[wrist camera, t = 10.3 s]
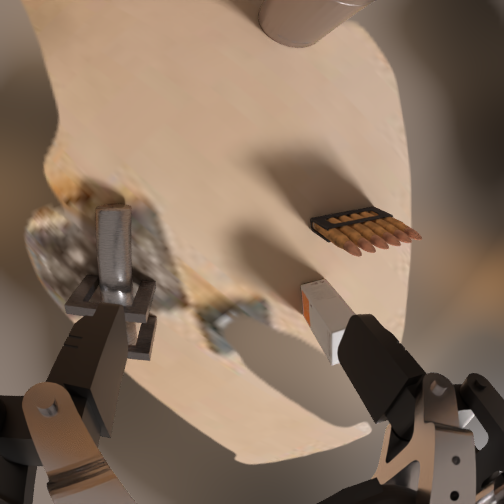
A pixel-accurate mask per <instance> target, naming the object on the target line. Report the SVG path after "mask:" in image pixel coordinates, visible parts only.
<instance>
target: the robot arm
mask: <svg viewBox="0 0 504 504" xmlns="http://www.w3.org/2000/svg"><path fill="white" fill-rule="evenodd" d="M374 1H376V0H264V2H263V4H262V6H261V8H260V10H259V15H258V16H259V22H260V25H261V27H262V29H263V30H264V32H265V33H266V34H267V35H268V36H269V37H271V38H272V39H273V40H275V41H277V42H279V43H280V44H283V45H286V46H289V47H295V48H303V47H308V46H311V45H313V44H315V43H316V42H318V41H319V40H320V39H322V38H323V37H324V36H326V35H327V34H328V33H330V32H331V31H332V30H334V29H335V28H336V27H338V26H339V25H340V24H342V23H343V22H345V21H346V20H347V19H349V18H350V17H352V16H353V15H355V14H356V13H358V12H359V11H360V10H362V9H363V8H365V7H367V6H368V5H370V4H371V3H372V2H374ZM127 355H128V340H127V332H126V323H125V314H124V307H123V305H121V304H113V303H104V302H100V304H99V305H98V307H97V309H96V311H95V313H94V315H93V316H87V315H85V316H84V317H83V318H81V319H80V320H79V321H77V322H76V323H75V324H74V326H73V328H72V329H71V331H70V333H69V337H67V339H66V341H65V343H64V346H63V347H62V349H61V351H60V353H59V355H58V357H57V359H56V361H55V363H54V365H53V367H52V370H51V372H50V374H49V377H48V378H47V380H46V382H42V383H38V384H36V385H34V386H32V387H31V388H30V389H29V390H28V391H27V392H26V393H25V395H24V396H2V395H0V504H32V502H33V492H34V484H35V476H36V470H37V466H44V469H45V471H46V473H47V475H48V478H49V482H48V483H47V489H48V491H49V494H50V496H51V498H52V500H53V502H54V504H137V503H136V502H135V500H134V499H133V498H132V497H131V495H130V494H129V493H128V491H127V490H126V489H125V488H124V486H123V485H122V484H121V482H120V481H119V479H118V478H117V477H116V475H115V474H114V472H113V471H112V469H111V468H110V466H109V465H108V463H107V462H106V460H105V459H104V457H103V456H102V454H101V452H100V451H99V449H98V444H99V439H100V436H102V437H108V438H111V434H112V428H113V423H114V417H115V412H116V406H117V401H118V396H119V392H120V387H121V382H122V378H123V373H124V369H125V365H126V361H127ZM337 356H338V360H339V362H340V364H341V366H342V367H343V369H344V371H345V372H346V374H347V376H348V377H349V379H350V381H351V383H352V384H353V386H354V388H355V389H356V391H357V393H358V394H359V396H360V398H361V399H362V401H363V403H364V405H365V406H366V408H367V410H368V412H369V413H370V415H371V417H372V419H373V420H374V422H375V423H376V424H377V423H380V422H383V421H386V420H388V421H389V422H390V423H389V425H388V426H387V427H386V430H385V436H384V441H383V446H382V451H381V456H380V461H379V465H378V468H377V471H376V472H375V474H374V476H373V477H372V478H371V479H370V480H368V481H365V482H362V483H360V484H357V485H354V486H351V487H348V488H345V489H342V490H341V491H339V492H338V493H336V494H334V495H332V496H330V497H329V498H327V499H325V500H323V501H321V502H319V503H317V504H504V399H503V398H502V397H501V396H500V394H499V393H498V392H497V391H496V390H495V388H494V387H493V386H492V385H491V384H490V382H489V381H488V380H487V379H486V378H485V377H483V376H482V375H479V374H477V373H471V374H469V375H468V377H467V378H466V379H465V381H464V382H463V384H455V385H454V384H452V382H451V381H450V380H449V379H448V378H446V377H445V376H443V375H441V374H439V373H434V372H433V373H432V372H431V373H427V374H426V372H425V371H424V370H423V369H422V368H421V367H420V365H419V364H418V363H417V362H416V361H415V359H414V358H413V357H412V356H411V355H410V353H409V352H408V351H407V350H405V348H404V347H403V345H402V344H401V343H399V341H398V340H397V338H396V337H395V336H394V335H393V334H392V333H391V332H389V331H388V330H387V329H385V328H384V327H383V326H382V325H381V324H380V323H379V321H378V320H377V319H376V318H375V317H374V316H373V315H371V314H359V315H352V316H351V317H350V319H349V321H348V324H347V326H346V329H345V331H344V334H343V336H342V338H341V341H340V343H339V346H338V350H337ZM474 416H476V417H477V419H478V420H479V422H480V423H481V424H482V426H483V427H484V429H485V430H486V432H487V433H488V436H489V439H488V443H487V444H486V445H485V447H484V448H482V449H481V450H478V449H477V448H476V446H475V445H474V436H473V432H472V431H471V430H469V429H464V427H465V426H466V424H467V423H468V422H469V421H470V420H471V419H472V418H473V417H474ZM499 471H502V472H500V473H499Z"/></svg>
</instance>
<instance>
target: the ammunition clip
mask: <svg viewBox="0 0 504 504" xmlns="http://www.w3.org/2000/svg"><path fill="white" fill-rule="evenodd" d="M392 217H393V215H391V214H389V213H387V212H384V211H382V210H380V209H378V208H376V207H369V208H363V209H358V210H352V211H347V212H341V213H336V214H331V215H325V216H320V217H315V218H311V229H312V231H313V232H314V233H316V234H317V235H319V236H320V237H321V238H323V239H324V240H326V241H327V242H332V243H334V244H335V245H336V246H338V247H339V248H342V249H344V250H345V251H347V252H348V253H350V254H352V255H354V256H362V253H361V251H360V249H359V248H361V249H363V250H365V251H367V252H371V253H375V252H376V250H375V248H374V246H376V247H378V248H381V249H389V246H388V245H387V243H388V244H390V245H394V246H400V245H401V244H400V242H399V241H401V242H405V243H411V242H412V240H411V239H415V240H422V237H421V236H420V235H419V234H418V233H417V232H416V231H415V230H413V229H412V228H410V227H408V226H407V225H405V224H404V223H403V222H401V221H399V220H397V219H395V218H392ZM410 238H411V239H410ZM372 244H373V245H374V246H373V245H372ZM357 246H358V247H359V248H358V247H357Z"/></svg>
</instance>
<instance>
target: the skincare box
mask: <svg viewBox="0 0 504 504" xmlns="http://www.w3.org/2000/svg"><path fill="white" fill-rule="evenodd" d="M301 293H302V303H303V316H304V318H305V319H306V321H307V323H308V325H309V327H310V328H311V330H312V332H313V334H314V335H315V337H316V339H317V341H318V342H319V344H320V346H321V348H322V350H323V351H324V353H325V355H326V357H327V358H328V360H329V362H330V364H331V365H335V364H338V363H340V362H339V360H338V356H337V350H338V346H339V343H340V341H341V338H342V336H343V334H344V331H345V329H346V326H347V324H348V321H349V319H350V317H351V316H352V315H356V314H355V313H354V312H353V311H352V309H351V308H350V307H349V306H348V305H347V303H346V302H345V301H344V300H343V299H342V297H341V296H340V295H339V294H338V293H337V292H336V290H335V289H334V288H333V287H332V286H331V284H330V283H329V282H328V281H327V280H326V279H322V280H318V281H314V282H311V283H307V284H303V285H301Z"/></svg>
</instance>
